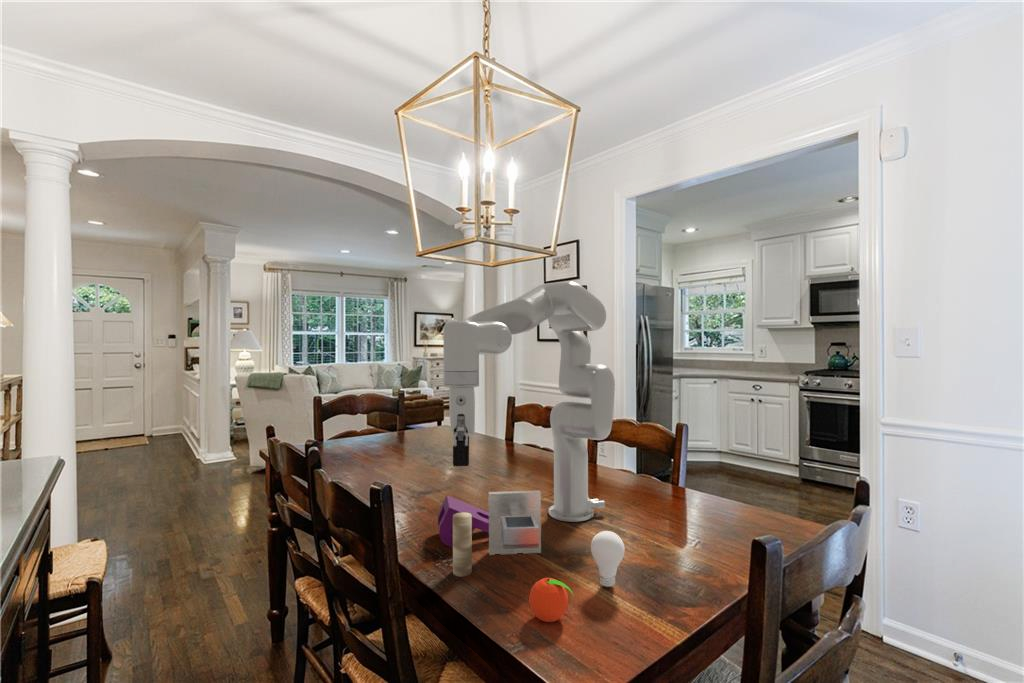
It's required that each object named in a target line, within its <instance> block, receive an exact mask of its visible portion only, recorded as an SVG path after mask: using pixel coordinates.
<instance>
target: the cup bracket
mask: <svg viewBox="0 0 1024 683" xmlns="http://www.w3.org/2000/svg"><path fill="white" fill-rule="evenodd" d="M488 512H489V533H488V554H489V556H494V555H495V554H500V555H518V554H517V553H523V554H541V553H542V492H541V490H540V489H539V490H515V491H514V490H513V491H488ZM495 556H496V555H495Z"/></svg>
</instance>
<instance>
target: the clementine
mask: <svg viewBox="0 0 1024 683" xmlns="http://www.w3.org/2000/svg"><path fill="white" fill-rule="evenodd" d="M566 589H567V590H568V591H569V592H570V593H571V594H572V597H573V598H575V596H574V593H573V591H572V590H571V588H570V587H569V586H568V585H566V584H565V583H564V582H562V581H561V580H560V581H559V580H557V579H556V578H553V577H544V578H543V577H542V578H541V579H539V580H538V581H536V582H535V583H534V584H533V585H532V587H531V589H530V592H529V599H528V601H529V606H530V609H531V611H532V613H533V615H534V616H535V617H536V618H537V619H539V620H540V621H543V622H545V623H553V622H556V621H558V620H561V619H562V618H563V616H564V615H565V614H566V612H567V610H568V607H569V595H568V592H567V590H566Z"/></svg>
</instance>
